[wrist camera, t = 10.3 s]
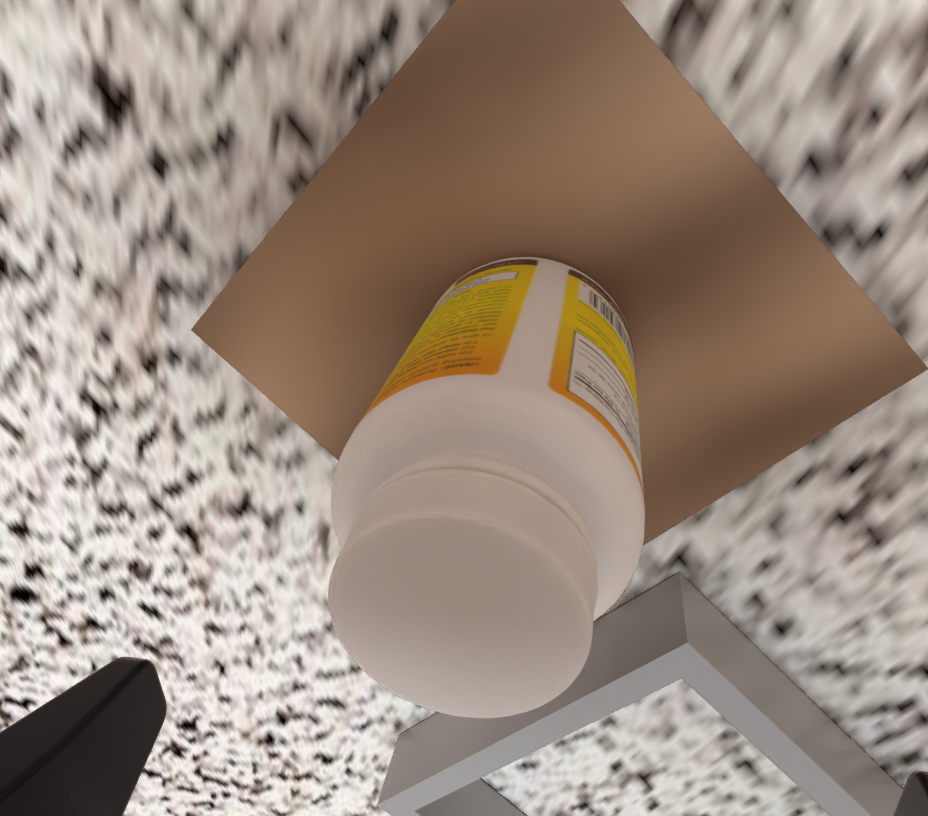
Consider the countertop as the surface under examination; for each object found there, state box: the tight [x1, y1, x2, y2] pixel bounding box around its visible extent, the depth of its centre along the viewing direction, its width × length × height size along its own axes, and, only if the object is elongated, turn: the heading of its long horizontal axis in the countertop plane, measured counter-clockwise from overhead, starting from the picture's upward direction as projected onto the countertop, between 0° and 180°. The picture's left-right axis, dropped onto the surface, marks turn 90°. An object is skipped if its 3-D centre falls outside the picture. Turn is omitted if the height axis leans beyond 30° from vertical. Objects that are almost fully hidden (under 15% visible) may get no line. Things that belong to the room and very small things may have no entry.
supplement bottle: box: [328, 257, 645, 718], centre depth 15 cm, size 6×6×10 cm
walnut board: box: [191, 0, 928, 545], centre depth 19 cm, size 14×14×1 cm
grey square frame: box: [377, 573, 903, 816], centre depth 26 cm, size 14×14×3 cm
